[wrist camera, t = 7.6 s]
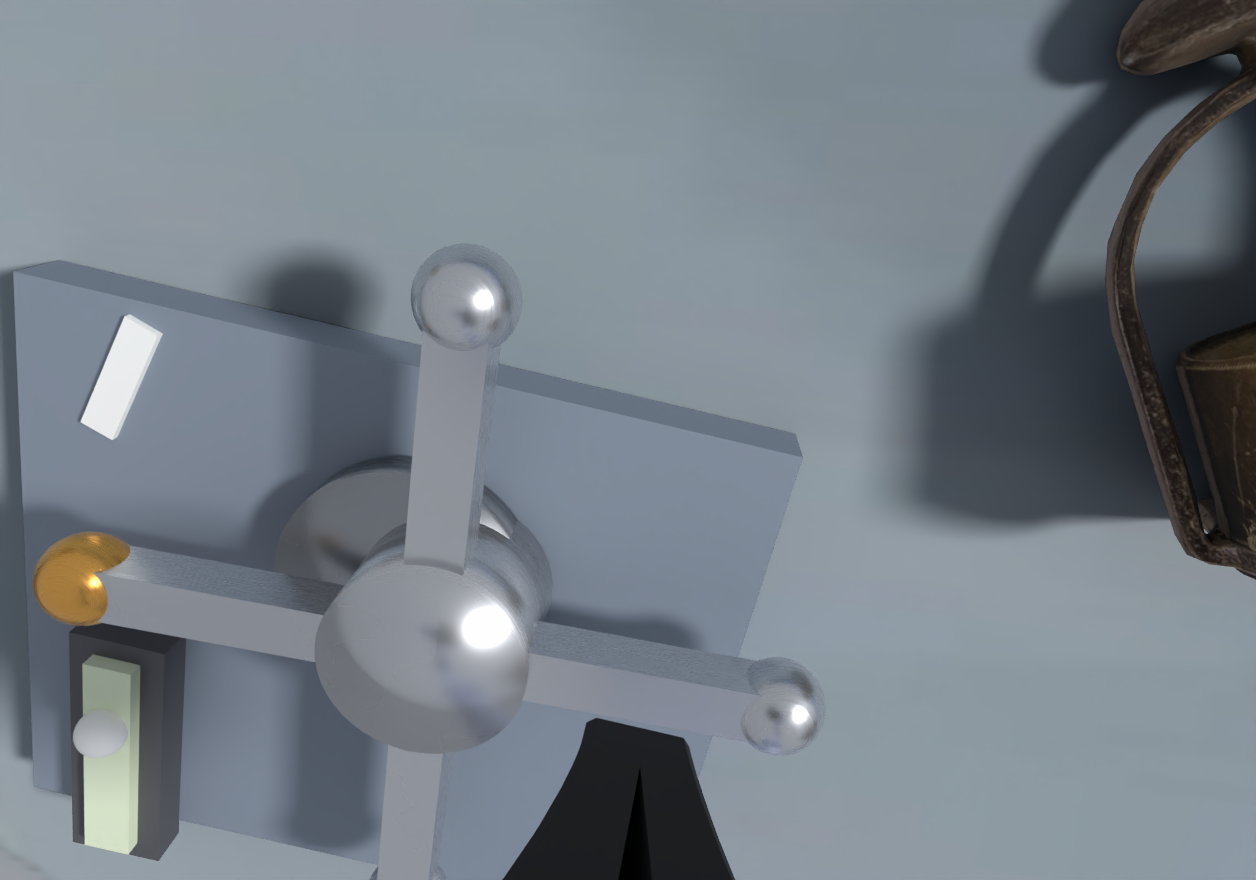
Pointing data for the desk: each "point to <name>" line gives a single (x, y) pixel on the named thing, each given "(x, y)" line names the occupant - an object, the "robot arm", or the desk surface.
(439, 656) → the capstan
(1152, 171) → the brown looped piece
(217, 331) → the grey panel with crank
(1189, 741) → the desk surface
